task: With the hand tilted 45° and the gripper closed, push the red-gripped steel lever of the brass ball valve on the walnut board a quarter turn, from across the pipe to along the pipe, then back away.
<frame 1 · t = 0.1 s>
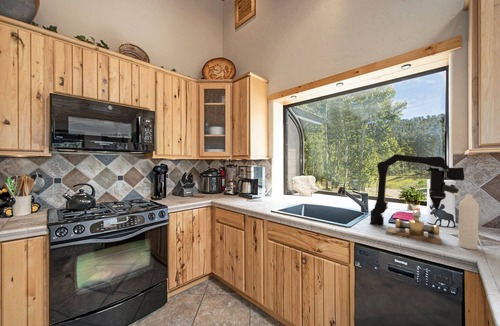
hand: (436, 207, 116), 15 cm above the table, tool pointing down, fingers open, 9 cm apart
water bottle: (464, 246, 101), on the table
valve lever: (416, 212, 116), point 12 cm above the table, hinge at 0.0°
valve body: (416, 236, 113), resting on valve board
valve board: (411, 235, 114), on the table
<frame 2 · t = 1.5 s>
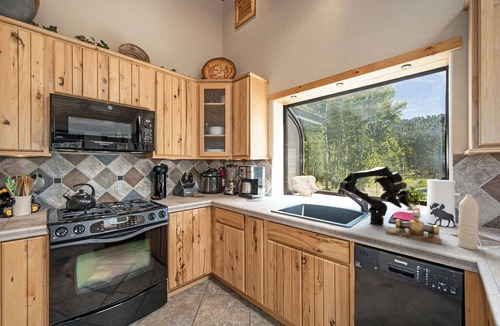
hand: (405, 207, 122), 14 cm above the table, tool tilted 45°, fingers open, 6 cm apart
nothing on the table moved.
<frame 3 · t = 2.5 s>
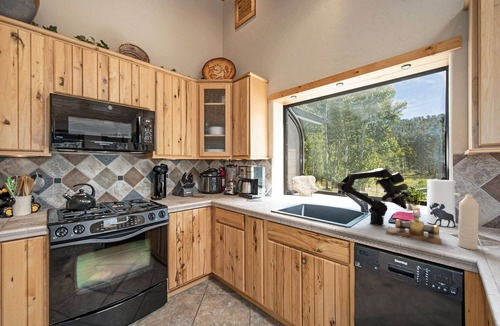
hand: (406, 208, 122), 13 cm above the table, tool tilted 45°, fingers closed
nothing on the table moved.
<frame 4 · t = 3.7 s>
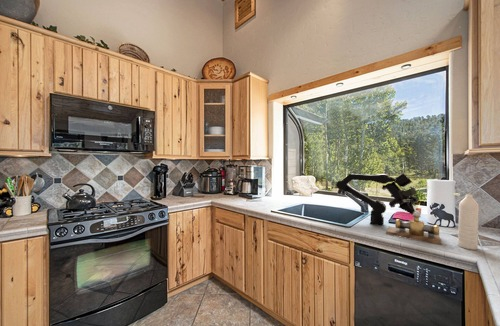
hand: (414, 214, 117), 11 cm above the table, tool tilted 45°, fingers closed
valve lever: (417, 212, 116), point 12 cm above the table, hinge at 3.8°, touching gripper
everything else where it was.
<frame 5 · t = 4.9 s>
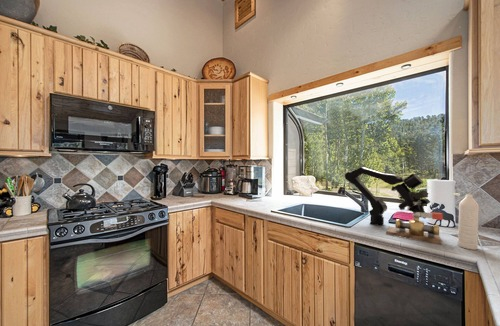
hand: (425, 218, 112), 10 cm above the table, tool tilted 40°, fingers closed
valve lever: (427, 215, 111), point 12 cm above the table, hinge at 72.5°, touching gripper
everything else where it was.
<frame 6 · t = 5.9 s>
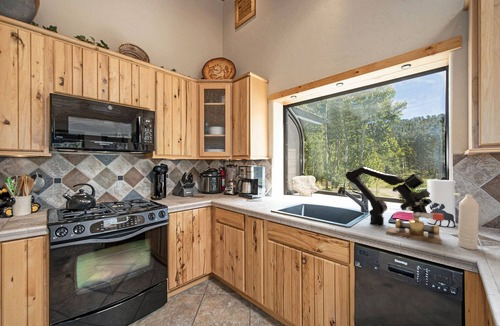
hand: (428, 218, 111), 10 cm above the table, tool tilted 45°, fingers closed
valve lever: (427, 215, 110), point 12 cm above the table, hinge at 83.6°, touching gripper
everything else where it was.
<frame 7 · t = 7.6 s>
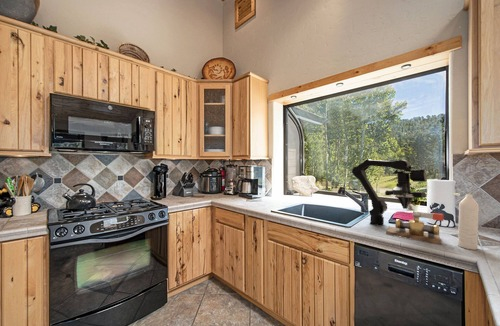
hand: (405, 208, 122), 13 cm above the table, tool pointing down, fingers closed
valve lever: (427, 215, 110), point 12 cm above the table, hinge at 83.7°
everything else where it was.
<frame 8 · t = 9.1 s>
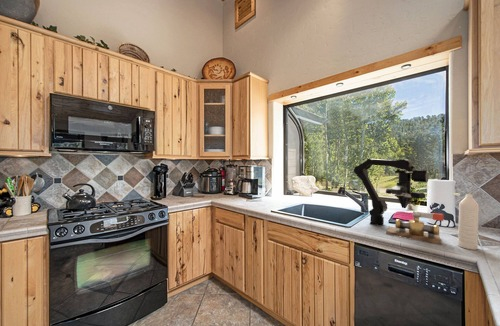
hand: (403, 207, 123), 13 cm above the table, tool pointing down, fingers closed
nothing on the table moved.
at the end: valve lever at +84° (first picture: +0°); water bottle moved 0.2 cm from its start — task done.
